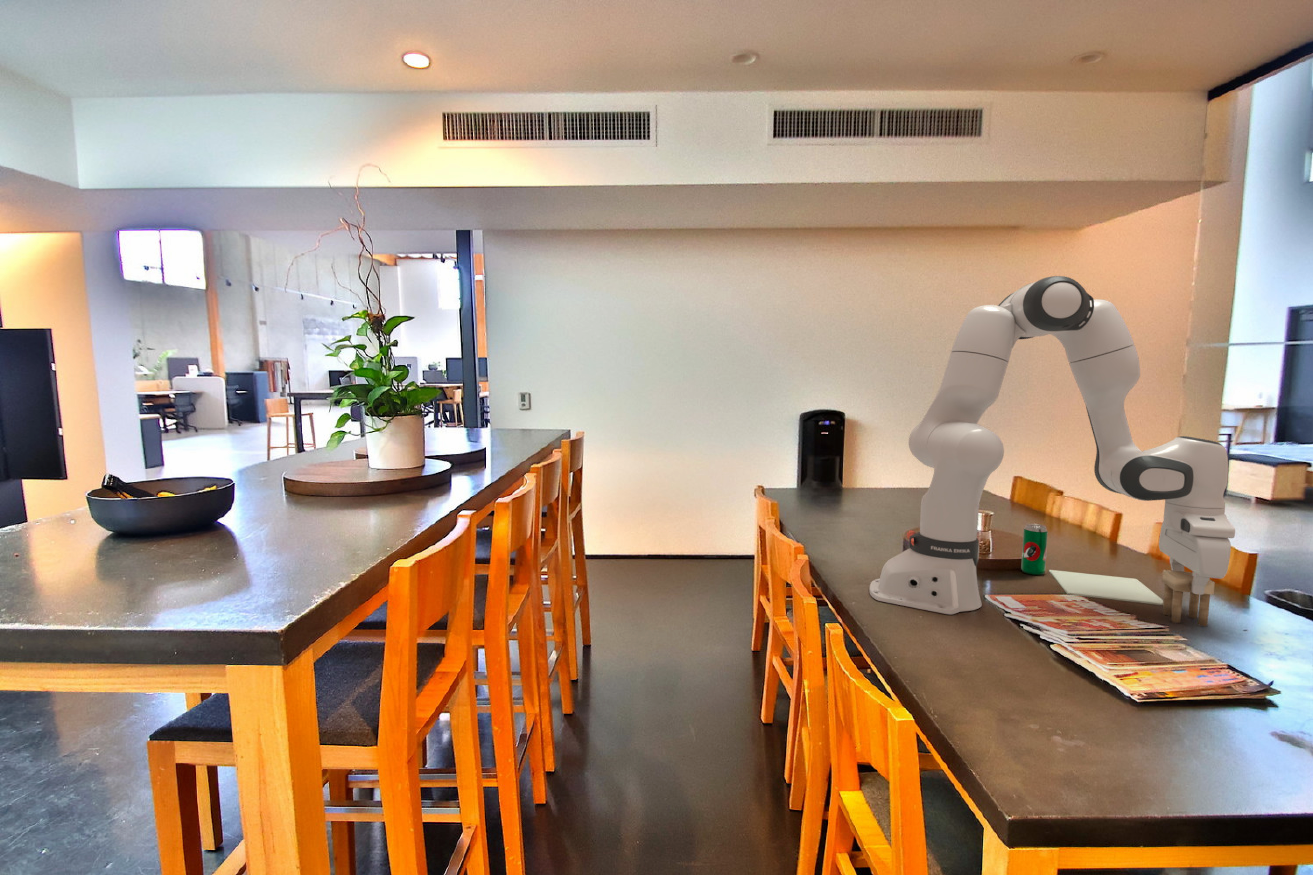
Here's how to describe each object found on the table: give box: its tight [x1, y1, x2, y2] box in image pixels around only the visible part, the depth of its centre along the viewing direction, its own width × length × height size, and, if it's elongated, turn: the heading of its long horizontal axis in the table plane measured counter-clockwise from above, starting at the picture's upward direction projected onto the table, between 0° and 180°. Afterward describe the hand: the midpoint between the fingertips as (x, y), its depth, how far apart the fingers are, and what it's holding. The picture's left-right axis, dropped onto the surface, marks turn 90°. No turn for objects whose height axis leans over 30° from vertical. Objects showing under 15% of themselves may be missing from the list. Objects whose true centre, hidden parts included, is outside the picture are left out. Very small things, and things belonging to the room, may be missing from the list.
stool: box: [1161, 569, 1216, 627], centre depth 119 cm, size 6×6×9 cm
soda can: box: [1020, 523, 1049, 576], centre depth 148 cm, size 5×5×12 cm
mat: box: [1048, 569, 1164, 606], centre depth 138 cm, size 18×18×1 cm
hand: (1187, 586), depth 119 cm, fingers open, 7 cm apart
